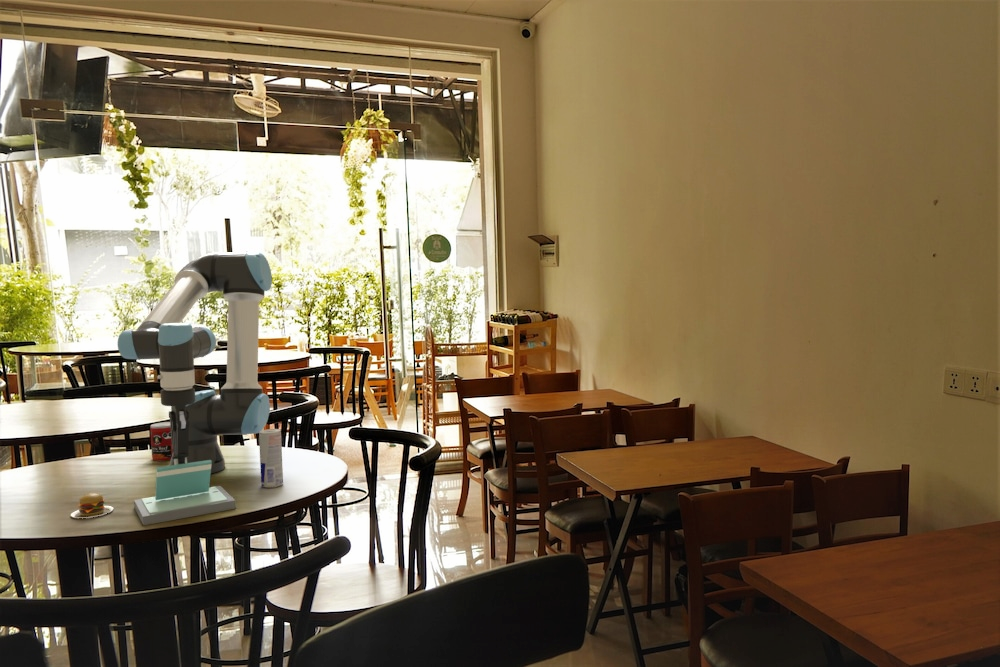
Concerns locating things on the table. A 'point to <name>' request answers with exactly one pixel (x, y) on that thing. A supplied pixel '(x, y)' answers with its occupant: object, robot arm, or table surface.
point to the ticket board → (183, 506)
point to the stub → (182, 479)
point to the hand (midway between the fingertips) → (181, 483)
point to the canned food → (161, 441)
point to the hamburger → (91, 506)
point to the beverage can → (271, 458)
